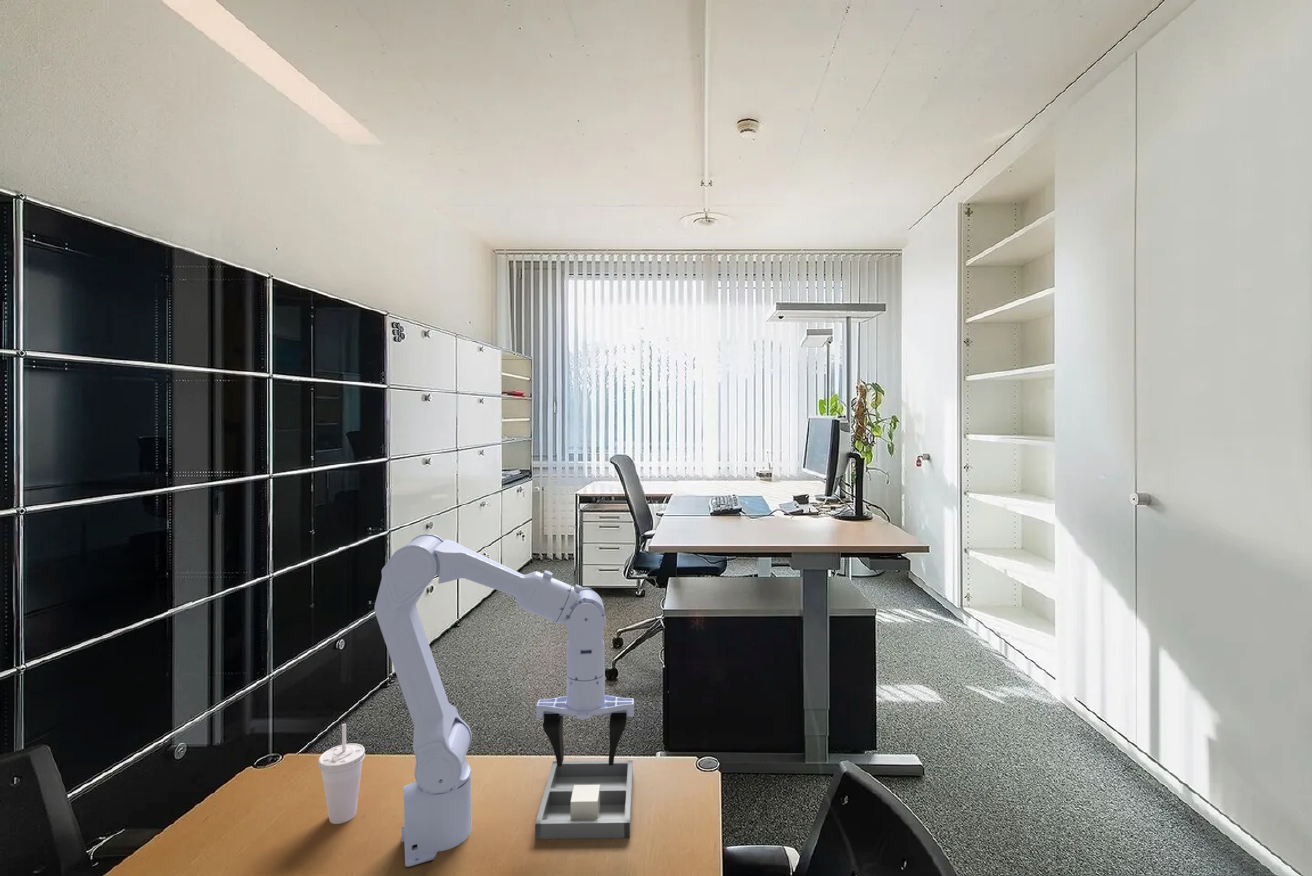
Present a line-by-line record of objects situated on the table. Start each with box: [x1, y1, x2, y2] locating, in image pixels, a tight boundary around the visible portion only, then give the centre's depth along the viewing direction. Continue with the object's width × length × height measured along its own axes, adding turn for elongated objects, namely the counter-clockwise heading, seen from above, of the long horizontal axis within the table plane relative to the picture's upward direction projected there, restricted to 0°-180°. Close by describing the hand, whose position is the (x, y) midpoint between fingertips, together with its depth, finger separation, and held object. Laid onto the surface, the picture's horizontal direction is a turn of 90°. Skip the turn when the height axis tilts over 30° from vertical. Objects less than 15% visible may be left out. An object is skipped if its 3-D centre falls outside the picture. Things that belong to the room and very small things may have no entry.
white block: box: [571, 785, 600, 820], centre depth 88 cm, size 4×4×4 cm
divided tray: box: [534, 760, 634, 840], centre depth 91 cm, size 14×16×3 cm
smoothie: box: [317, 723, 366, 825], centre depth 90 cm, size 6×6×14 cm
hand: (585, 762), depth 88 cm, fingers open, 7 cm apart
